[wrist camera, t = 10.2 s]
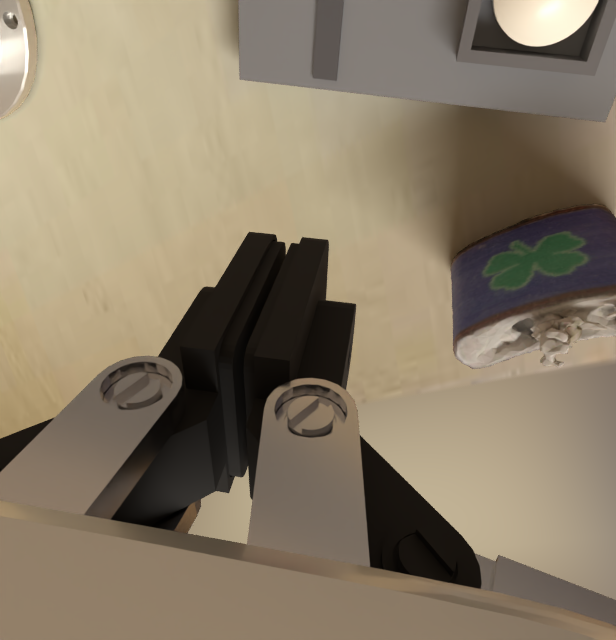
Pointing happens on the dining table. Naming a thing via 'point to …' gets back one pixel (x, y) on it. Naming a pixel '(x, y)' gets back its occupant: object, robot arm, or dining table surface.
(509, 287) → the flask
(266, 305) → the robot arm
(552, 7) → the ivory button
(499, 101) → the panel
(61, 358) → the dining table surface
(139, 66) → the dining table surface
